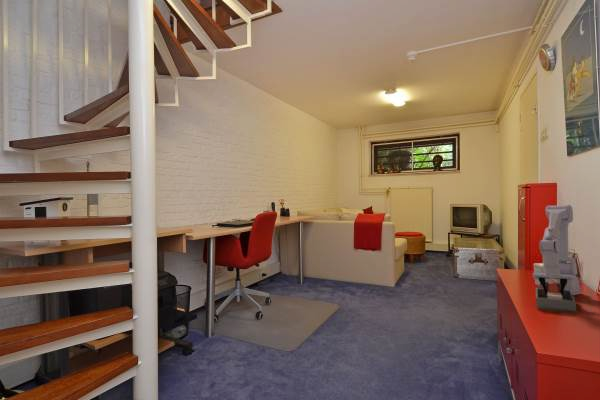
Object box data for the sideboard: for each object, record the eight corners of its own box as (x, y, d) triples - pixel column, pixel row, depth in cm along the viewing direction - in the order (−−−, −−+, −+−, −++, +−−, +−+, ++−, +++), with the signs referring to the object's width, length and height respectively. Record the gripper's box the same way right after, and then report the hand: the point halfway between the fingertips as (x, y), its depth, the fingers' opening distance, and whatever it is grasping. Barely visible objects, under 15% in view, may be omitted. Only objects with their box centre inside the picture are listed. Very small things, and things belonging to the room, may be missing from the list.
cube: (548, 303, 143) (547, 292, 143) (562, 304, 140) (561, 293, 140) (548, 306, 139) (547, 295, 139) (563, 308, 136) (562, 296, 136)
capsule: (552, 296, 149) (550, 281, 149) (563, 298, 144) (562, 283, 144) (544, 297, 147) (543, 282, 148) (556, 300, 143) (555, 284, 143)
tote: (536, 298, 153) (535, 287, 153) (572, 301, 145) (571, 290, 145) (537, 309, 139) (536, 297, 139) (576, 313, 131) (575, 301, 132)
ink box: (553, 288, 166) (551, 265, 167) (543, 288, 167) (541, 266, 168) (544, 283, 175) (542, 262, 175) (534, 284, 176) (532, 263, 176)
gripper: (531, 266, 147) (534, 295, 147) (572, 267, 138) (575, 298, 138) (531, 263, 153) (534, 291, 152) (570, 264, 144) (573, 294, 144)
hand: (553, 294), depth 146 cm, fingers closed on capsule, 5 cm apart
